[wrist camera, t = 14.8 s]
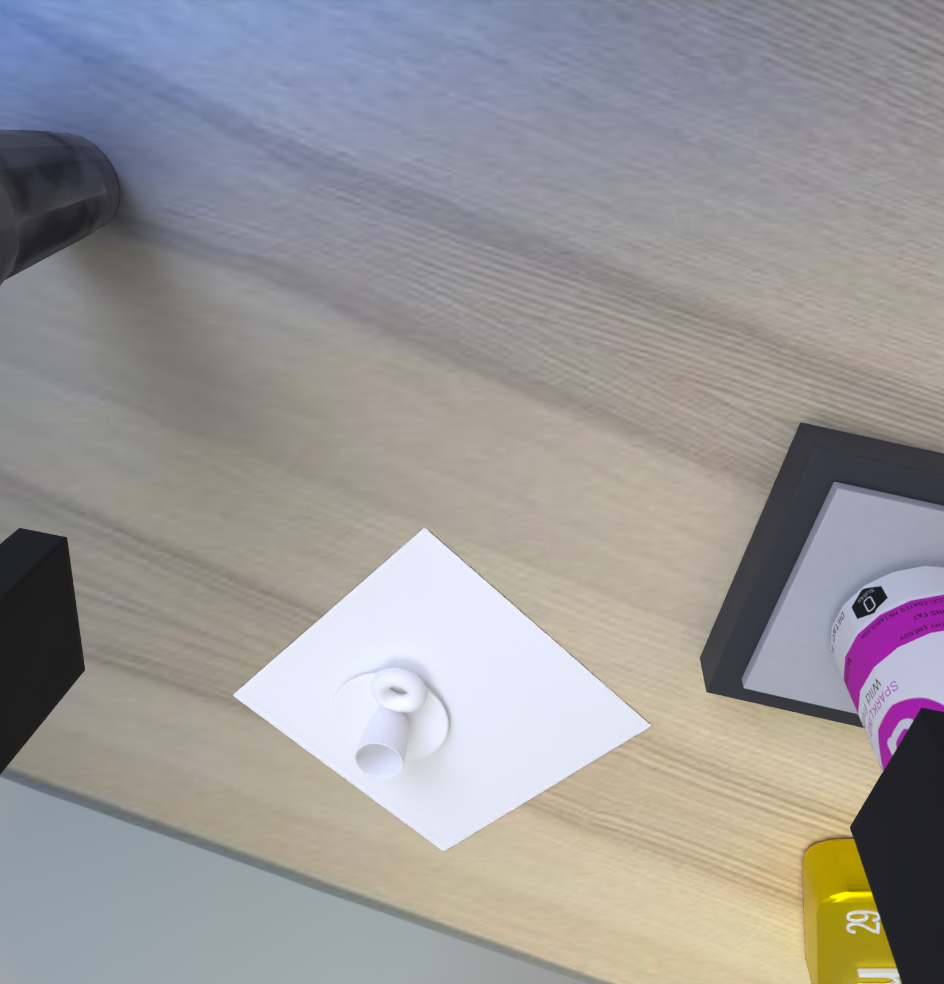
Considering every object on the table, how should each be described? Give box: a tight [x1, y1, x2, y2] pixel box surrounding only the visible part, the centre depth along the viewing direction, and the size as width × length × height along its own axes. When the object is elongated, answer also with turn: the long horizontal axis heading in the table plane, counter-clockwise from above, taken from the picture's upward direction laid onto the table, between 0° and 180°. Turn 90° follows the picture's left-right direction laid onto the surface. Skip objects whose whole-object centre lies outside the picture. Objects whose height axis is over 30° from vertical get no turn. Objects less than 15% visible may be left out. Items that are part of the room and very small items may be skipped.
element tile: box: [802, 839, 902, 984], centre depth 54 cm, size 15×15×5 cm
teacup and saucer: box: [331, 667, 450, 780], centre depth 52 cm, size 9×8×4 cm
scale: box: [700, 423, 944, 728], centre depth 42 cm, size 16×16×4 cm
